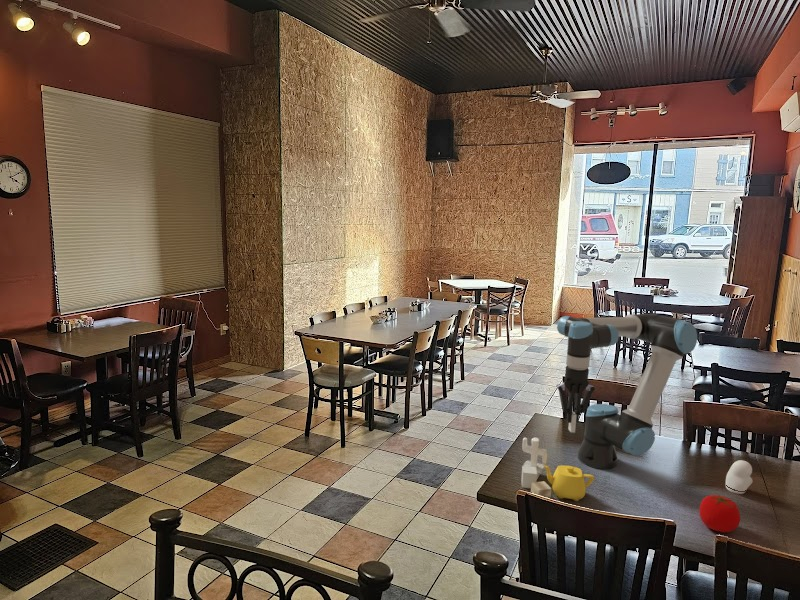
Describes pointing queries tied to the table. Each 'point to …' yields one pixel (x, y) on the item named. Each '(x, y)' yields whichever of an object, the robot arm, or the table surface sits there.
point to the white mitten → (739, 476)
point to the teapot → (568, 482)
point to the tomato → (719, 513)
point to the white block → (528, 476)
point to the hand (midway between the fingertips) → (571, 430)
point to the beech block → (541, 489)
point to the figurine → (535, 454)
